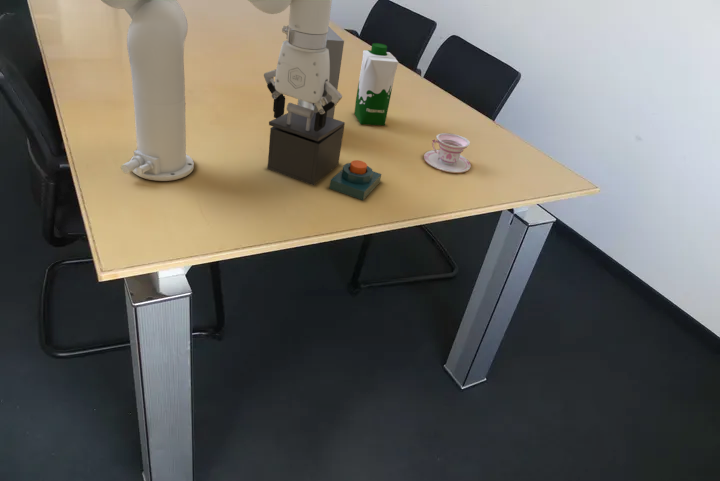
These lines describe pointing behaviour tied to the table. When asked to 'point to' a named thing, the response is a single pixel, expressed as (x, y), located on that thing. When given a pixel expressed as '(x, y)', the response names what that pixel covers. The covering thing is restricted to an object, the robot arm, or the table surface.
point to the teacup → (449, 153)
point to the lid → (305, 123)
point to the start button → (358, 167)
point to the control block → (355, 182)
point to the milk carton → (375, 85)
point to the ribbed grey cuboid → (335, 58)
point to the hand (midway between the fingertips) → (298, 122)
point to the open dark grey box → (303, 155)
